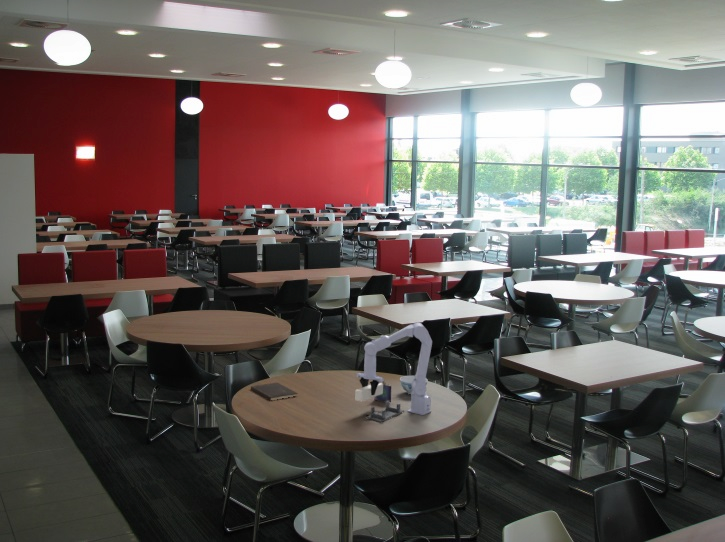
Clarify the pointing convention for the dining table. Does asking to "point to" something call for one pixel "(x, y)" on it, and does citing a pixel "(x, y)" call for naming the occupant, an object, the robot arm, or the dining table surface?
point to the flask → (384, 393)
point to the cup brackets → (385, 413)
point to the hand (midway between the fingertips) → (369, 393)
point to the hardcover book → (273, 391)
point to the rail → (367, 392)
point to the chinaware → (408, 383)
